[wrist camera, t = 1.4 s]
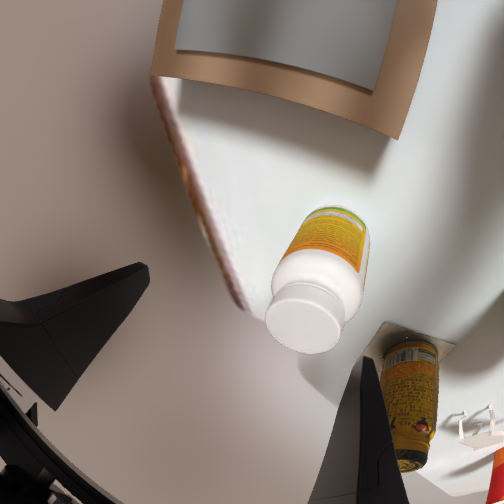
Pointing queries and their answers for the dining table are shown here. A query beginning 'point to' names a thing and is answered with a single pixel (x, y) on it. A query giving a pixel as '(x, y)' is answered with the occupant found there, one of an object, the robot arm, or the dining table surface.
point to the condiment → (409, 388)
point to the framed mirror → (303, 51)
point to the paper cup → (497, 479)
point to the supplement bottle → (319, 280)
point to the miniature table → (483, 438)
